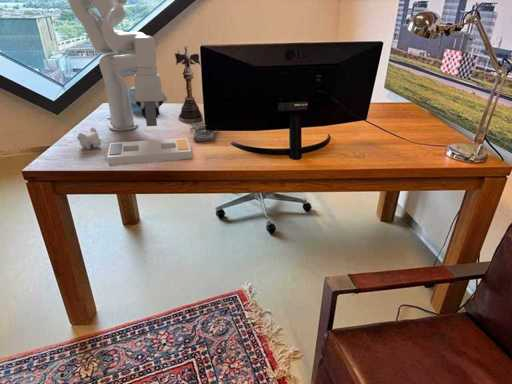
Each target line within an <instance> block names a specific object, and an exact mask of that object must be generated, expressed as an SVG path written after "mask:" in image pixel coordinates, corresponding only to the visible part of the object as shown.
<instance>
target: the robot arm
mask: <svg viewBox="0 0 512 384" xmlns="http://www.w3.org/2000/svg"><path fill="white" fill-rule="evenodd" d="M127 1H128V0H68V3H69V6H70V9H71V11H72V13H73V14H74V16H75V17H76V19H77V20H78V21H79V22H80V23H81V25H82V27H83V29H84V30H85V33H86V35H87V37H88V38H89V40H90V41H89V42H90V43H91V45H92V47H93V48H94V50H95V52H96V53H97V54H98V55H102V56H101V57H100V59H99V62H98V65H99V69H100V72H101V75H102V78H103V81H104V85H105V92H106V96H107V102H108V109H109V113H110V114H109V115H108V116H107V117H106V120H108V121H109V124H108V128H109V129H110V130H111V131H115V132H125V131H130V130H131V131H132V130H134V129H136V128H137V127H138V126H139V125H138V122H137V121H135V120H134V115H133V113H134V112H133V111H132V106H131V101H132V102H134V103H136V104H137V105H138V106H139V107H141V109H142V112H141V116H143V118H144V119H146V114H145V106H144V102H155V104H156V105H155V109H156V119H157V118H159V116H160V107H161V106H162V105H163V104H164V103H166V102H167V101H168V98H167V96H166V95H165V94H164V93H163V87H162V81H161V77H160V73H158V68H157V67H158V66H157V58H156V57H157V55H156V43H155V38H154V37H153V36H151V35H147V34H145V33H144V32H142V31H127V32H126V31H124V30H122V29H114V28H115V27H117V26H118V25H120V24H121V23H122V22H123V21H124V19H125V17H126V12H125V9H124V8H123V6H125V5H126V4H127ZM92 9H96V10H97V11H98V13H99V14H100V15H99V14H98V13H96V12H95V11H94V10H92ZM132 76H134V83H133V84H134V87H135V93H134V95H133V96H132V98H131V99H130V92H129V90H130V86H129V85H128V84H127V83H126V81H124V79H123V78H125V77H132Z"/></svg>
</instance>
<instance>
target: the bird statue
mask: <svg viewBox="0 0 512 384" xmlns="http://www.w3.org/2000/svg"><path fill="white" fill-rule="evenodd" d="M180 52H181V50H180V49H179V48H177V51H176V52H174V57H175V60H176V61H175V62H176V63H175V65H176V66H177V65H178V64H181V65H184V69H183V72H182V75H183V79H184V80H185V82H186V83H185V89H186V94H187V95H186V97H184V103H183V105H182V107H181V109H180V110H181V111H180V113H179V115H178V121H179V122H182V123H185V124H186V123H189V124H192V123H199V122H201V120H203V114H202V113H201V110H200V106H199V105H198V104H197V102H196V100H195V98H194V96H193V91H192V90H193V87H192V80H193V79H194V72H193V70H192V68H191V65H196V64H198V65H200V66H202V65H201V62H200V54H199V53H197V52H195V53H189V46H188V45H184V52H185V53H180Z"/></svg>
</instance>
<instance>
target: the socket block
mask: <svg viewBox="0 0 512 384" xmlns="http://www.w3.org/2000/svg"><path fill="white" fill-rule="evenodd" d="M191 149H192V148H191V147H190V143H189V141H188V138H187V137H181V138H166V139H153V140H137V141H133V140H132V141H120V142H118V141H117V142H110V143H109V147H108V151H107V163H108V166H113V165H124V164H139V163H140V164H141V163H150V162H151V163H152V162H163V161H175V160H188V159H189V160H190V159H192V150H191Z"/></svg>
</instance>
